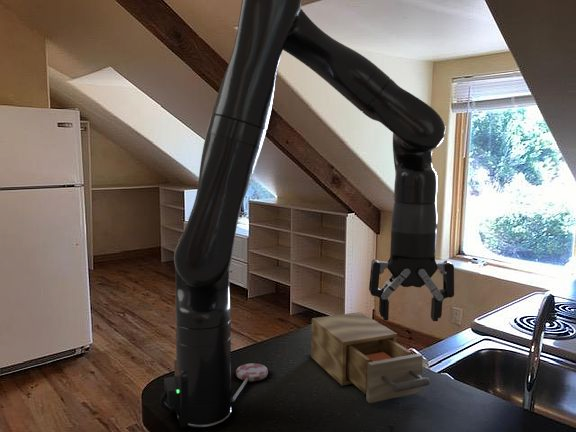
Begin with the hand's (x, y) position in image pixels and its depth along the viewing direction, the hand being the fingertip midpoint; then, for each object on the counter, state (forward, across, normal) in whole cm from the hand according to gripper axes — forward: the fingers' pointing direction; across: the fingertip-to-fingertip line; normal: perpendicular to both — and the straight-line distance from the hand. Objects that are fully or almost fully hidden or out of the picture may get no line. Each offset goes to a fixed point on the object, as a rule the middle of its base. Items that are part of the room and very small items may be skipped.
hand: (409, 319), depth 84 cm
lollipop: (+17, +30, -7) cm, 35 cm away
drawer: (+16, +3, -6) cm, 18 cm away
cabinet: (+17, +8, -18) cm, 26 cm away
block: (+15, +4, -8) cm, 17 cm away
